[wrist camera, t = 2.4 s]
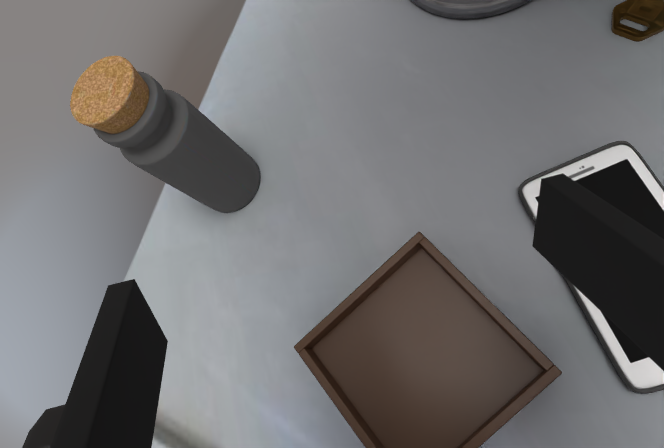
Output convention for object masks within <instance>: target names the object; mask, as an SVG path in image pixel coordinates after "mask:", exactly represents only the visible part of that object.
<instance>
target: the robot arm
mask: <svg viewBox="0 0 664 448" xmlns="http://www.w3.org/2000/svg"><path fill="white" fill-rule="evenodd" d="M412 1H413V2H414V3H415V4H416V5H418V6H419V7H421V8H423V9H424V10H426V11H429V12H431V13H433V14H437V15H440V16H444V17H450V18H461V19H470V18H481V17H488V16H492V15H497V14H500V13H504V12H507V11H509V10H512V9H515V8H517V7H519V6H522V5H524V4H526V3H527V2H529V1H531V0H412ZM533 247H534V248H535V249H536V250H537V251H538V252H539V253H540V254H541V255H542V256H544V257H545V258H546V259H547V260H548V261H549V262H550V263H551V264H552V265H553V266H554V267H555V268H556V269H557V270H558V271H559V272H560V273H561V274H562V275H563V276H564V277H566V278H567V279H568V280H569V281H570V282H571V283H572V284H573V285H574V286H575V287H576V288H577V289H578V290H579V291H580V292H581V293H582V294H583V295H584V296H585V297H586V298H588V299H589V300H590V301H591V302H592V303H593V304H594V305H595V306H596V307H597V308H598V309H599V310H600V311H601V312H602V313H603V314H604V315H605V316H606V317H607V318H608V319H610V320H611V321H612V322H613V323H614V324H615V325H616V326H617V327H618V328H619V329H620V330H621V331H622V332H623V333H624V334H625V335H626V336H627V337H628V338H629V339H630V340H631V341H633V342H634V343H635V344H636V345H637V346H638V347H639V348H640V349H641V350H642V351H643V352H644V353H645V354H646V355H647V356H648V357H649V358H650V359H651V360H652V361H653V362H655V363H656V364H657V365H658V366H659V367H660V368H661V369H662V370H663V371H664V239H663V238H661V237H660V236H658V235H657V234H655V233H654V232H652V231H651V230H649V229H648V228H646V227H645V226H643V225H642V224H640V223H638V222H637V221H635V220H634V219H632V218H631V217H629V216H628V215H626V214H625V213H623V212H622V211H620V210H619V209H617V208H615V207H614V206H612V205H611V204H609V203H608V202H606V201H605V200H603V199H602V198H600V197H599V196H597V195H596V194H594V193H592V192H591V191H589V190H588V189H586V188H585V187H583V186H582V185H580V184H579V183H577V182H576V181H574V180H572V179H571V178H569V177H568V176H566V175H565V174H563V173H562V174H558V175H554V176H550V177H546V178H542V179H541V185H540V193H539V201H538V208H537V216H536V224H535V232H534V239H533ZM167 342H168V341H167V339H166V337H165V335H164V333H163V332H162V330H161V328H160V326H159V324H158V322H157V320H156V319H155V317H154V315H153V313H152V311H151V309H150V307H149V306H148V304H147V302H146V300H145V298H144V296H143V294H142V293H141V291H140V289H139V287H138V285H137V283H136V281H135V280H134V279H133V280H129V281H125V282H121V283H117V284H113V285H109V286H108V288H107V291H106V293H105V297H104V299H103V302H102V305H101V307H100V310H99V313H98V316H97V319H96V321H95V324H94V327H93V330H92V333H91V335H90V338H89V341H88V344H87V346H86V349H85V352H84V355H83V358H82V360H81V363H80V366H79V369H78V371H77V374H76V377H75V380H74V382H73V385H72V388H71V391H70V393H69V396H68V399H67V402H66V404H65V405H61V406H58V407H54V408H50V409H47V410H45V412H44V413H43V414H42V416H41V417H40V418H39V419H38V421H37V422H36V423H35V425H34V426H33V427H32V429H31V430H30V431H29V433H28V435H27V438H26V440H25V443H24V445H23V448H151V446H152V440H153V433H154V427H155V420H156V414H157V407H158V401H159V394H160V388H161V381H162V375H163V368H164V362H165V355H166V349H167Z"/></svg>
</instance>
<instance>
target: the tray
mask: <svg viewBox="0 0 664 448" xmlns="http://www.w3.org/2000/svg"><path fill="white" fill-rule="evenodd" d="M294 348H295V350H296V351H297V352H298V353H299V355H300V357H301V358H302V359H303V361H304V362H305V364H306V365H307V366H308V368H309V369H310V371H311V372H312V373H313V375H314V376H315V378H316V379H317V380H318V382H319V383H320V385H321V386H322V387H323V389H324V390H325V391H326V393H327V394H328V396H329V397H330V398H331V400H332V401H333V403H334V404H335V405H336V407H337V408H338V410H339V411H340V412H341V414H342V415H343V417H344V418H345V419H346V421H347V422H348V424H349V425H350V426H351V428H352V429H353V431H354V432H355V433H356V435H357V436H358V438H359V439H360V440H361V442H362V443H363V445H364V446H365V447H366V448H478V447H480V446H481V445H482V444H483V443H484V442H485V441H486V440H487V439H489V438H490V437H491V436H492V435H493V434H494V433H495V432H496V431H498V430H499V429H500V428H501V427H502V426H503V425H504V424H505V423H507V422H508V421H509V420H510V419H511V418H512V417H513V416H514V415H516V414H517V413H518V412H519V411H520V410H521V409H522V408H523V407H525V406H526V405H527V404H528V403H529V402H530V401H531V400H533V399H534V398H535V397H536V396H537V395H538V394H539V393H540V392H542V391H543V390H544V389H545V388H546V387H547V386H548V385H549V384H551V383H552V382H553V381H554V380H555V379H556V378H557V377H558V376H560V375H561V374H562V372H561V371H560V370H559V369H558V368H557V367H556V366H555V365H554V364H553V363H552V362H551V361H550V360H549V359H548V358H547V357H546V356H545V355H544V354H543V353H542V352H541V351H540V350H539V349H538V348H537V347H536V346H535V345H534V344H533V343H532V342H531V341H530V340H529V339H528V338H527V337H526V336H525V335H524V334H523V333H522V332H521V331H520V330H519V329H518V328H517V327H516V326H515V325H514V324H513V323H512V322H511V321H510V320H509V319H508V318H507V317H506V316H505V315H504V314H503V313H502V312H501V311H500V310H499V309H498V308H497V307H496V306H495V305H493V304H492V303H491V302H490V301H489V300H488V299H487V298H486V297H485V296H484V295H483V294H482V293H481V292H480V291H479V290H478V289H477V288H476V287H475V286H474V285H473V284H472V283H471V282H470V281H469V280H468V279H467V278H466V277H465V276H464V275H463V274H462V273H461V272H460V271H459V270H458V269H457V268H456V267H455V266H454V265H453V264H452V263H451V262H450V261H449V260H448V259H447V258H446V257H445V256H444V255H443V254H442V253H441V252H440V251H439V250H438V249H437V248H436V247H435V246H434V245H433V244H432V243H431V242H430V241H429V240H428V239H427V238H425V237H424V235H423V234H422V233H421V232H418V233H417V234H416V235H415V236H413V237H412V238H411V239H410V240H409V241H408V242H407V243H406V244H405V245H404V246H403V247H401V248H400V249H399V250H398V251H397V252H396V253H395V254H394V255H393V256H392V257H391V258H390V259H388V260H387V261H386V262H385V263H384V264H383V265H382V266H381V267H380V268H379V269H378V270H376V271H375V272H374V273H373V274H372V275H371V276H370V277H369V278H368V279H367V280H366V281H365V282H363V283H362V284H361V285H360V286H359V287H358V288H357V289H356V290H355V291H354V292H353V293H351V294H350V295H349V296H348V297H347V298H346V299H345V300H344V301H343V302H342V303H341V304H340V305H338V306H337V307H336V308H335V309H334V310H333V311H332V312H331V313H330V314H329V315H328V316H326V317H325V318H324V319H323V320H322V321H321V322H320V323H319V324H318V325H317V326H316V327H315V328H313V329H312V330H311V331H310V332H309V333H308V334H307V335H306V336H305V337H304V338H303V339H302V340H300V341H299V342H298V343H297V344H296V345H295V346H294Z"/></svg>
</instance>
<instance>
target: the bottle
mask: <svg viewBox="0 0 664 448" xmlns="http://www.w3.org/2000/svg"><path fill="white" fill-rule="evenodd" d="M70 107H71V111H72V114H73V116H74V118H75V119H76V120H77V121H78V122H79V123H81V124H83V125H86V126H89V127H92V128H94V131H95V132H96V134H97V135H98V137H99V138H101V139H102V140H103V141H105V142H107V143H108V144H110V145H112V146H115V147H119V148H120V150H121V152H122V154H123V155H124V157H125V158H126V159H127V160H128V161H130V162H131V163H133V164H134V165H136V166H137V167H139V168H141V169H143V170H144V171H147V172H148V173H150V174H151V175H153V176H155V177H157V178H159V179H160V180H162V181H164V182H166V183H167V184H169V185H171V186H173V187H174V188H176V189H178V190H180V191H182V192H183V193H185V194H187V195H189V196H190V197H192V198H194V199H196V200H198V201H199V202H201V203H203V204H205V205H207V206H208V207H210V208H212V209H214V210H217V211H220V212H225V213H228V212H234V211H237V210H239V209H241V208H243V207H244V206H245V205H247V204H248V203H249V202H250V201H251V200H252V198H253V197H254V195H255V194H256V192H257V190H258V187H259V183H260V171H259V168H258V165H257V164H256V162H255V161H254V160H253V159H252V157H250V156H249V155H248V154H247V153H246V152H245V151H244V150H243V149H242V148H241V147H239V146H238V145H237V144H236V143H235V142H234V141H233V140H232V139H230V138H229V137H228V136H227V135H226V134H225V133H224V132H223V131H221V130H220V129H219V128H218V127H217V126H216V125H215V124H214V123H212V122H211V121H210V120H209V119H208V118H207V117H206V116H204V115H203V114H202V113H201V112H200V111H199V110H198V109H196V108H195V107H194V106H193V105H192V104H191V103H190V102H188V101H187V100H186V99H185V98H184V97H182V96H181V95H180V94H178V93H176V92H174V91H171V90H163V88H162V86H161V85H160V84H159V83H158V82H157V81H156V80H155V79H154V78H152V77H151V76H150V75H148V74H146V73H144V72H137V71H136V69H135V68H134V67H133V66H132V64H131V63H130V62H129V61H128V60H126V59H125V58H123V57H120V56H109V57H105V58H103V59H101V60H99V61H97V62H95V63H94V64H92V65H91V66H90V67H88V68H87V70H86V71H85V72H84V73H83V74H82V75H81V76H80V78H79V79H78V81H77V83H76V85H75V87H74V89H73V92H72V95H71V101H70Z"/></svg>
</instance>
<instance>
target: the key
mask: <svg viewBox="0 0 664 448" xmlns="http://www.w3.org/2000/svg"><path fill="white" fill-rule="evenodd" d="M623 19H627V20H630V21H633V22H636V23H639V24H642V25H644V26H647V27H648V29H647V30H646V31H640V30H637V29H634V28H631V27H628V26H626V25H623V24H621V23H620V21H621V20H623ZM611 30H612V32H613V33H614V34H616V35H619V36H622V37H625V38H627V39H630V40H633V41H642V40H645V39H647V38H649V37H651V36H653V35H655V34H658V33H660V32H662V31H663V30H664V0H627V1H625V2H623V3H621V4H618V5H617V6H615V7H614V9H613V12H612V27H611Z"/></svg>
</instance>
